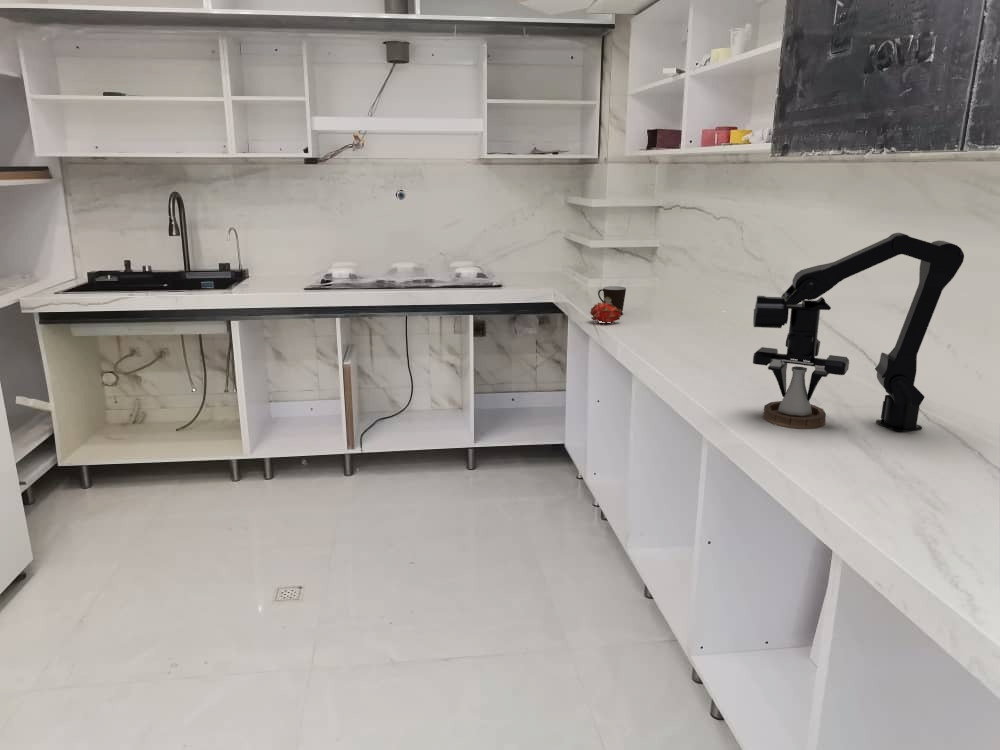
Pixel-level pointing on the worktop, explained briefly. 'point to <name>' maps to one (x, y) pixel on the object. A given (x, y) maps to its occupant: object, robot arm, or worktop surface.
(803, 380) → the flask
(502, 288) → the worktop surface
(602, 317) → the dragon fruit
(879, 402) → the worktop surface
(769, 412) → the round wooden tray
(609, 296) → the coffee mug
